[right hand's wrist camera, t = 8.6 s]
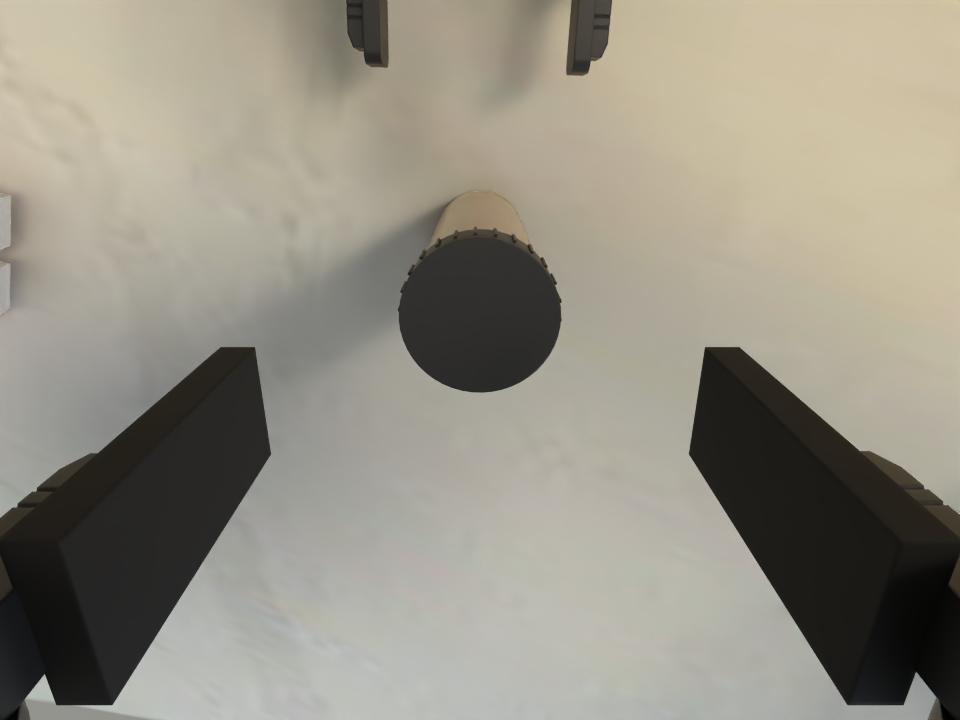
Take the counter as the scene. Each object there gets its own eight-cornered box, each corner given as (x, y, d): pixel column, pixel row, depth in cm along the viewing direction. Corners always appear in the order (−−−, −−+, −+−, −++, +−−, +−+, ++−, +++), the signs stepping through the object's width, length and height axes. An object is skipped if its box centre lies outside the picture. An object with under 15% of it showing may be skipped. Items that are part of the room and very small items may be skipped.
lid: (579, 341, 21) (587, 358, 20) (442, 396, 22) (439, 417, 21) (522, 200, 19) (526, 206, 18) (375, 266, 20) (366, 277, 19)
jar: (535, 256, 34) (574, 349, 20) (458, 289, 35) (444, 402, 21) (502, 175, 33) (519, 216, 18) (422, 212, 33) (380, 278, 19)
